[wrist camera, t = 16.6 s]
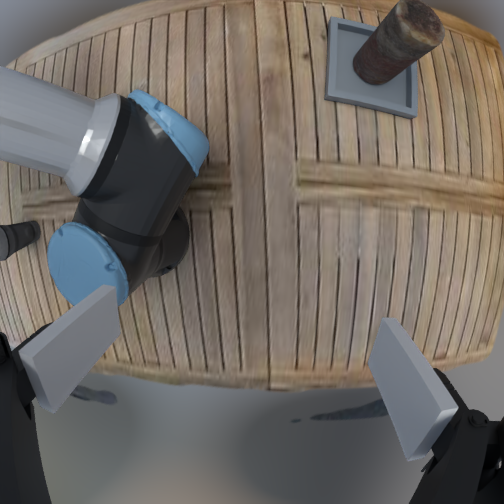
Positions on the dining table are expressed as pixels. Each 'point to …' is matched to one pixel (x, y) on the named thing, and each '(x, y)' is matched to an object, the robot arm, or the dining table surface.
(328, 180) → the dining table surface
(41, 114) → the robot arm
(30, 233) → the beverage cup
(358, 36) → the tray
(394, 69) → the brown rough cylinder
